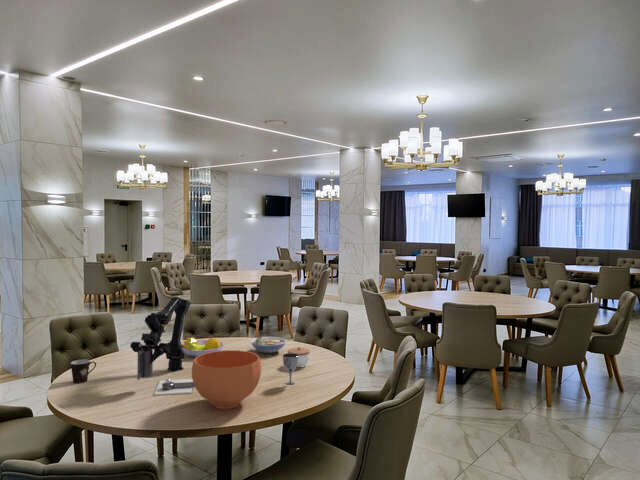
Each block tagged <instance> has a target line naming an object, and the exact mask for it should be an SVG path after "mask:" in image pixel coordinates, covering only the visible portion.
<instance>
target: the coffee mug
mask: <svg viewBox="0 0 640 480" xmlns="http://www.w3.org/2000/svg"><path fill="white" fill-rule="evenodd" d="M93 363H94V366H93V368H92V369H91V370H90V365H91V364H93ZM96 366H97V363H96V362H95V361H90V360H89V359H77V360H73V361H71V362H70V369H71V375H72V383H73V384H83V383H86V382H88V376H89V374H90V373H91V372H92V371H93V370H95V368H96Z"/></svg>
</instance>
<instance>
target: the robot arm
mask: <svg viewBox="0 0 640 480" xmlns="http://www.w3.org/2000/svg"><path fill="white" fill-rule="evenodd" d="M190 307H191V304H190V301H189V300H188V299H184V298H182V297H173V296H172V297H171V298H170V300H169V302H168V303H167V304H166V306H165V307H164V308H163V309H162V310H159V311H158V312H156V313H155V312H151V313H150V314H148V315H147V316H146V317H145V319H144V323H145V324H146V326H147V327H148V329H149V330H150V332H149V333H145V332H143V333H142V334H141V338H140V341H143V344H141V342H140V341H132V342H131V343H130V345H129V346H130V349H131V350H132V351H133V352H135V353H137V355H138V354H139V350H141V349H152V350H153V355H152V358H151V360H150V364H152V363H153V364H154V362H155V361H156V360H157V359H158V358H159V357H160V356H162V355H164V354H165V358H166V360H168V363H167V364H168V366H167V370H169V371H171V372H177V371H180V370H184V367H183V361H182V360H183V359H185V355H186V353H184V351H183V350H182V345H183V344H182V341H181V338H182V332H183V326H184V321H185V320H184V319H185V316H186V314H187V313H188V311H189V308H190ZM173 313H175V316H174V317H175V318H174V323H173V328H172V335H171V340H170V341H169V342H161V341H162V339H161V337H162V335H163V333H165V332H166V331H165V330H166V329H165V327H164V326H167V325H169V323H170V322H171V316H172V314H173Z"/></svg>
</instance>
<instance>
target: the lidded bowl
mask: <svg viewBox="0 0 640 480" xmlns="http://www.w3.org/2000/svg"><path fill="white" fill-rule="evenodd" d="M310 352H311V351H310V349H309V348H305V347H301V346H298V347H292V348H289V349H288V350H287V353H295V354H298V365H297V367H302V366H305V367H306V365H307V364H308V363H309V360H310ZM302 368H303V367H302Z"/></svg>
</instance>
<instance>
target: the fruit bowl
mask: <svg viewBox="0 0 640 480" xmlns="http://www.w3.org/2000/svg"><path fill="white" fill-rule="evenodd" d="M224 347H225V344H224V342H222V341H220V340H219V339H218V338H217V337H210V338H208V339H207V340H201V339H200V340H197V339H196V338H195V337H194V336H193V337H187V338H186V339H185V340H184V342H183V344H182V350H183V351H184V353H185V355H188V356H191V357H195V358H196V357H197V356H200V355H202V354H205V353H210V352H214V351H223V349H224Z"/></svg>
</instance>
